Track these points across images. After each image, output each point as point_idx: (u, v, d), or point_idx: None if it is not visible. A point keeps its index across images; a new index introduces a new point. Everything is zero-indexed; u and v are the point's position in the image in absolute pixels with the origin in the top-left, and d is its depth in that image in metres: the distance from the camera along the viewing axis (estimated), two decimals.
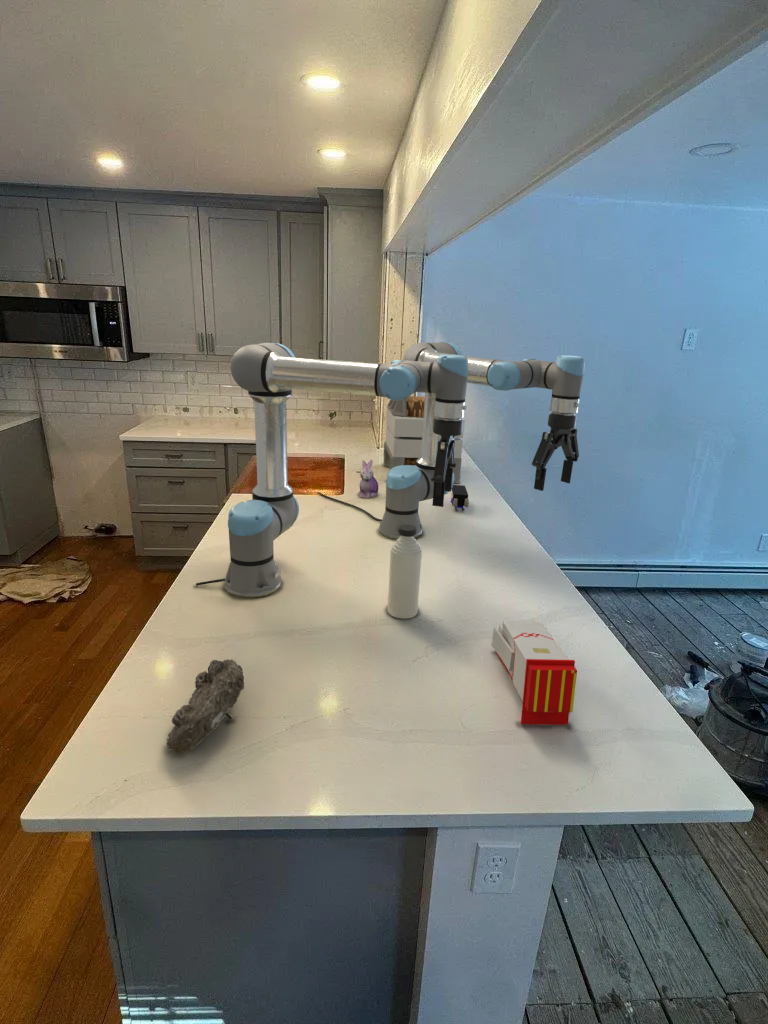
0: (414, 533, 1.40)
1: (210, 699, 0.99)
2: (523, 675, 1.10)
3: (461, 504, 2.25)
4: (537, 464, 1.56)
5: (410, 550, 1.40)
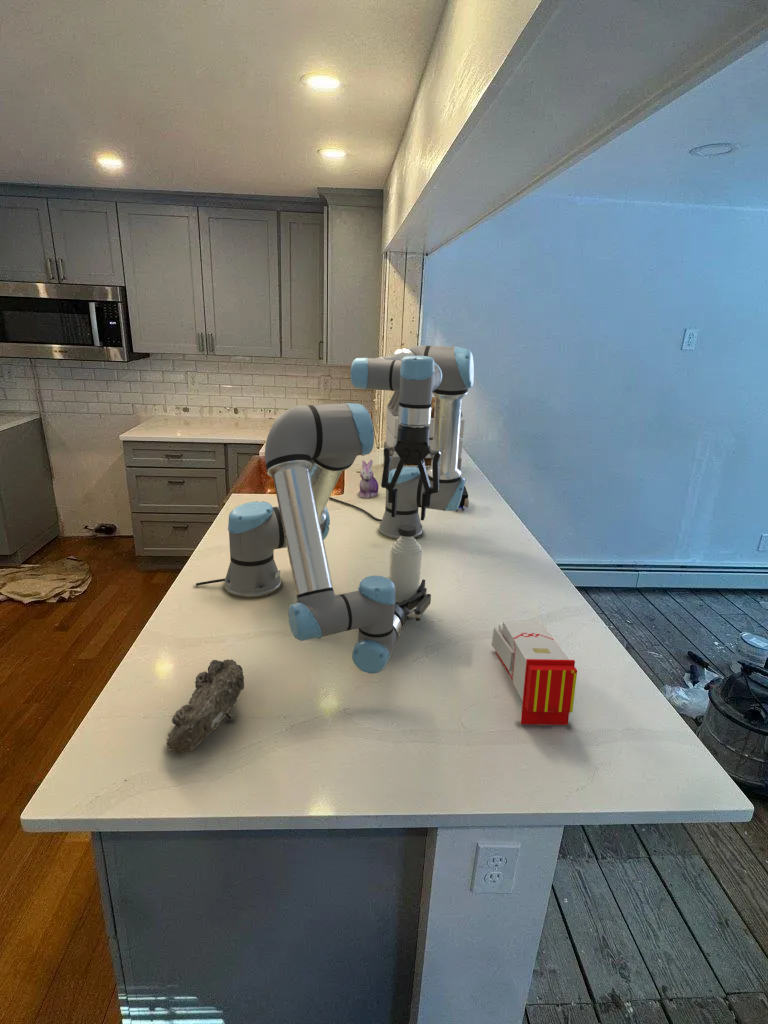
0: (414, 533, 1.40)
1: (210, 699, 0.99)
2: (523, 675, 1.10)
3: (461, 504, 2.25)
4: (438, 488, 1.37)
5: (410, 550, 1.40)
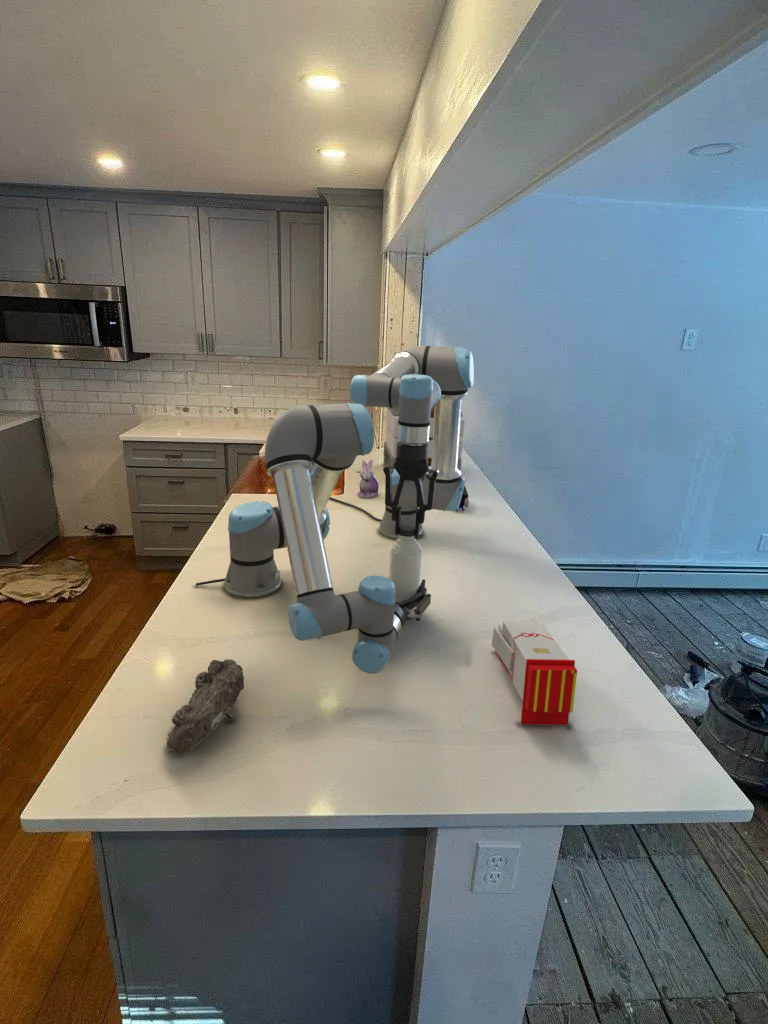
0: (414, 533, 1.40)
1: (210, 699, 0.99)
2: (523, 675, 1.10)
3: (461, 504, 2.25)
4: (432, 505, 1.39)
5: (410, 550, 1.40)
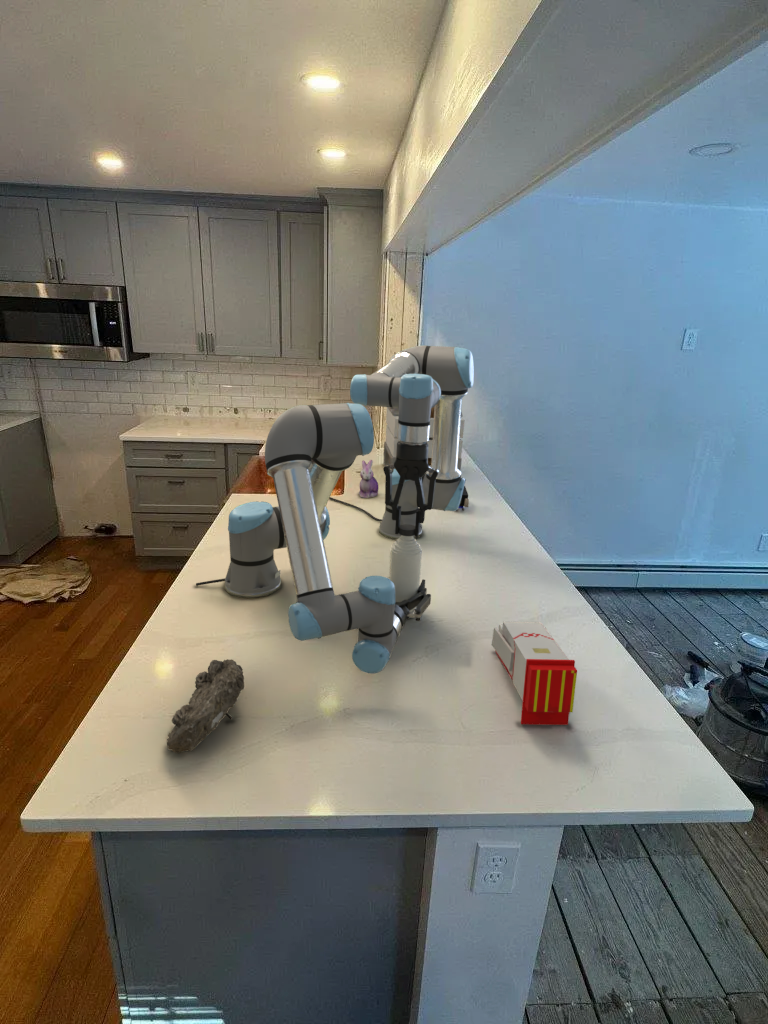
0: None
1: (210, 699, 0.99)
2: (523, 675, 1.10)
3: (461, 504, 2.25)
4: (432, 504, 1.39)
5: (410, 550, 1.40)
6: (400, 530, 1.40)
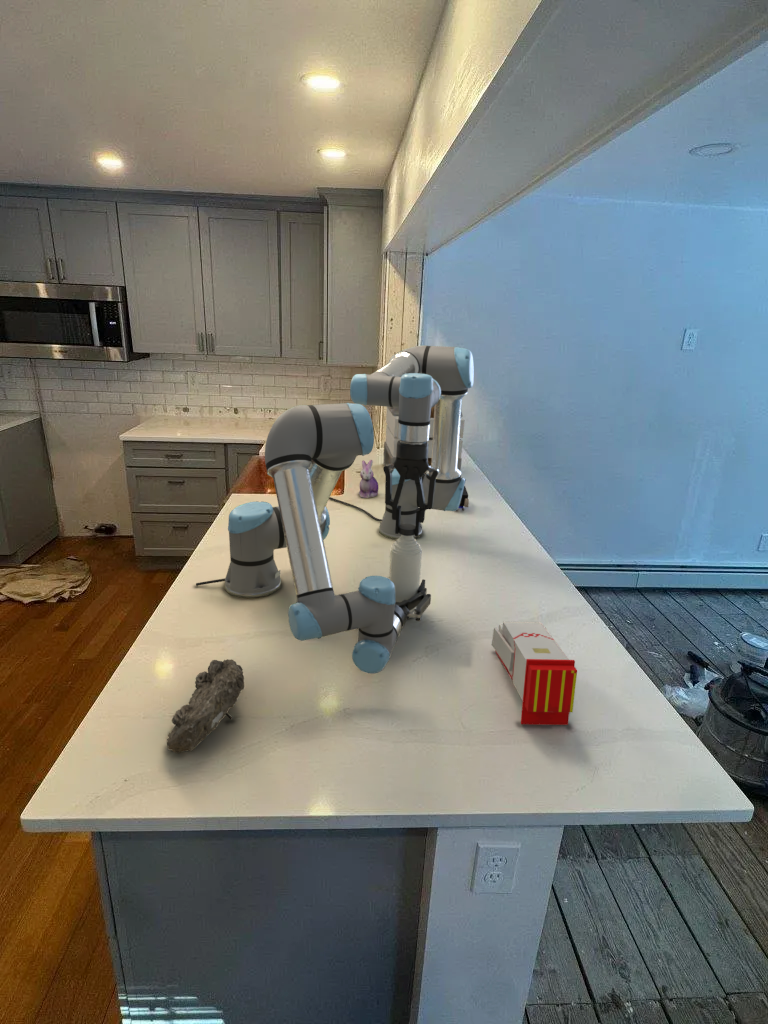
0: (399, 530, 1.41)
1: (210, 699, 0.99)
2: (523, 675, 1.10)
3: (461, 504, 2.25)
4: (432, 504, 1.39)
5: (410, 550, 1.40)
6: (414, 530, 1.40)
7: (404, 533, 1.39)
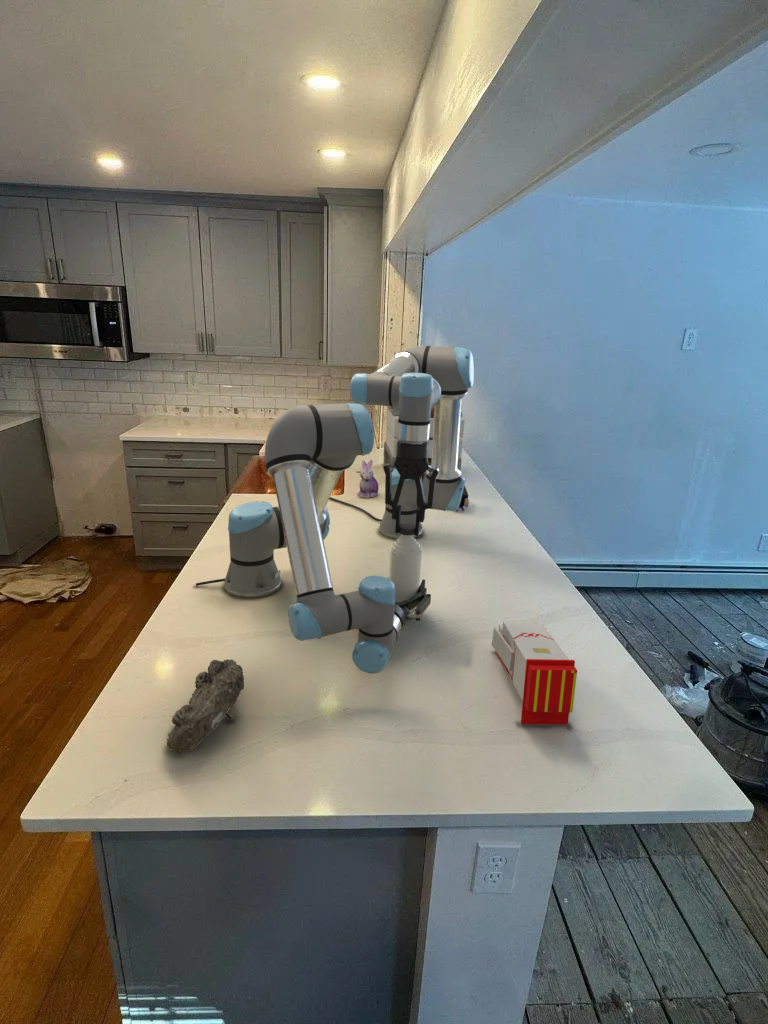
0: (409, 533, 1.39)
1: (210, 699, 0.99)
2: (523, 675, 1.10)
3: (461, 504, 2.25)
4: (432, 503, 1.39)
5: (410, 550, 1.40)
6: None
7: None
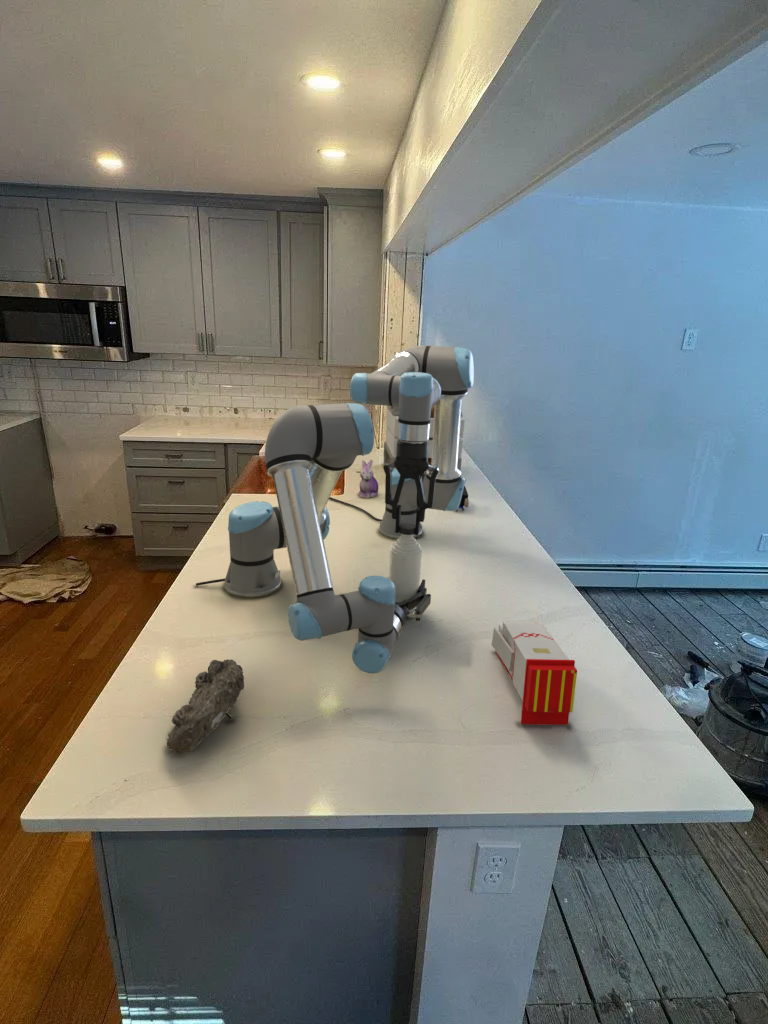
0: None
1: (210, 699, 0.99)
2: (523, 675, 1.10)
3: (461, 504, 2.25)
4: None
5: (410, 550, 1.40)
6: (399, 527, 1.41)
7: None
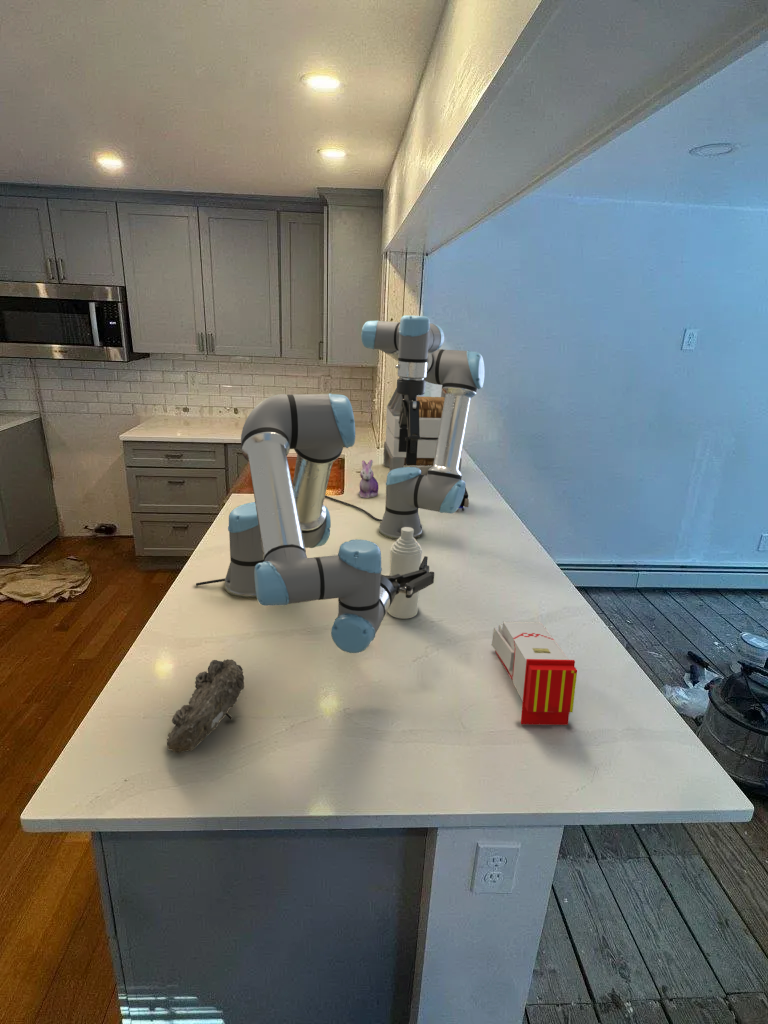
0: None
1: (210, 699, 0.99)
2: (523, 675, 1.10)
3: (461, 504, 2.25)
4: None
5: (410, 550, 1.40)
6: None
7: None
